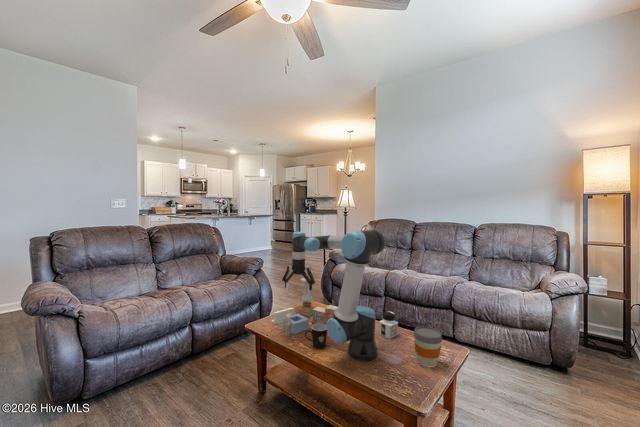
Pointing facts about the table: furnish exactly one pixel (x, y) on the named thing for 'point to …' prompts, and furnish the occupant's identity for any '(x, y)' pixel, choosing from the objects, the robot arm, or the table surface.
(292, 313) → the wall
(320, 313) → the stack of blocks
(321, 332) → the coffee mug
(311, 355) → the table surface
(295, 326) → the block
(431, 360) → the reusable coffee cup
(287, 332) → the dowel
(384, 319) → the container
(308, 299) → the candle holder
